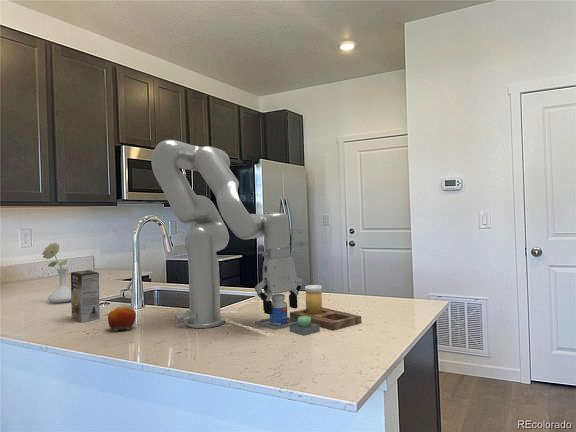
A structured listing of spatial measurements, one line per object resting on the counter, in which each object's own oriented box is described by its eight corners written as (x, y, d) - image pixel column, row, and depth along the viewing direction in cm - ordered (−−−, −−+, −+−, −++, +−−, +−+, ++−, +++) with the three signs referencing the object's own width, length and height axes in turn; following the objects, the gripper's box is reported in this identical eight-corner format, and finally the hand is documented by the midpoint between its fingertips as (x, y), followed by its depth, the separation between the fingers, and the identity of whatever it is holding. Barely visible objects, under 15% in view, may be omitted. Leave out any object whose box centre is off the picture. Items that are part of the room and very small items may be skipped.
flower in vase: (69, 297, 186) (68, 240, 186) (83, 300, 179) (82, 241, 179) (38, 303, 175) (36, 242, 175) (51, 306, 169) (49, 243, 169)
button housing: (303, 339, 115) (303, 328, 115) (289, 335, 120) (289, 324, 120) (320, 335, 119) (319, 324, 119) (305, 331, 124) (305, 320, 124)
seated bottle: (313, 320, 131) (312, 288, 131) (302, 318, 135) (301, 286, 135) (326, 318, 134) (325, 286, 134) (314, 315, 138) (314, 284, 138)
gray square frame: (275, 333, 122) (275, 327, 122) (255, 327, 130) (255, 321, 130) (302, 327, 128) (302, 321, 128) (281, 321, 136) (281, 315, 136)
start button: (303, 327, 117) (303, 319, 117) (295, 324, 120) (295, 317, 120) (313, 324, 119) (313, 317, 119) (305, 322, 122) (304, 315, 122)
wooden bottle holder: (332, 334, 119) (332, 323, 119) (290, 322, 134) (289, 312, 134) (361, 326, 127) (361, 316, 127) (318, 316, 142) (317, 306, 142)
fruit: (109, 330, 124) (108, 304, 128) (108, 339, 130) (106, 314, 134) (139, 326, 128) (136, 301, 132) (136, 335, 134) (133, 310, 138)
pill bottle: (285, 330, 126) (284, 296, 126) (267, 329, 127) (266, 296, 127) (289, 325, 131) (288, 293, 131) (272, 324, 132) (271, 293, 132)
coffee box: (70, 318, 147) (69, 272, 147) (89, 315, 152) (88, 270, 152) (81, 322, 141) (80, 274, 141) (101, 319, 145) (99, 271, 145)
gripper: (261, 257, 120) (265, 318, 120) (307, 251, 131) (310, 307, 131) (246, 256, 126) (250, 314, 126) (292, 251, 137) (295, 304, 137)
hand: (281, 310), depth 129 cm, fingers open, 9 cm apart
